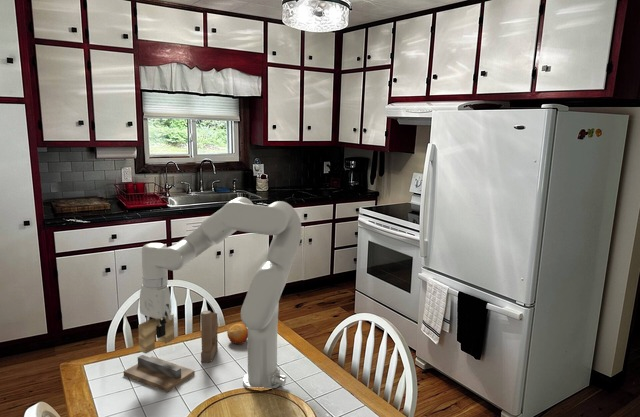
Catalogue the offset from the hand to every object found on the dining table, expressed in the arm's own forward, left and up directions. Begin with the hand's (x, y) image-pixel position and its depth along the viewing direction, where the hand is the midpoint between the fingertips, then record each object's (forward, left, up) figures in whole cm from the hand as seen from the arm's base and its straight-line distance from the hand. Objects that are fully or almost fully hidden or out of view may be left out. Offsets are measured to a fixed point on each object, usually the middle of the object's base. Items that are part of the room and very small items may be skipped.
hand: (156, 334), depth 152 cm
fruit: (-7, -33, -15) cm, 37 cm away
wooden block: (-5, -19, -15) cm, 25 cm away
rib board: (0, 0, -14) cm, 14 cm away
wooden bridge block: (0, 0, -4) cm, 4 cm away
